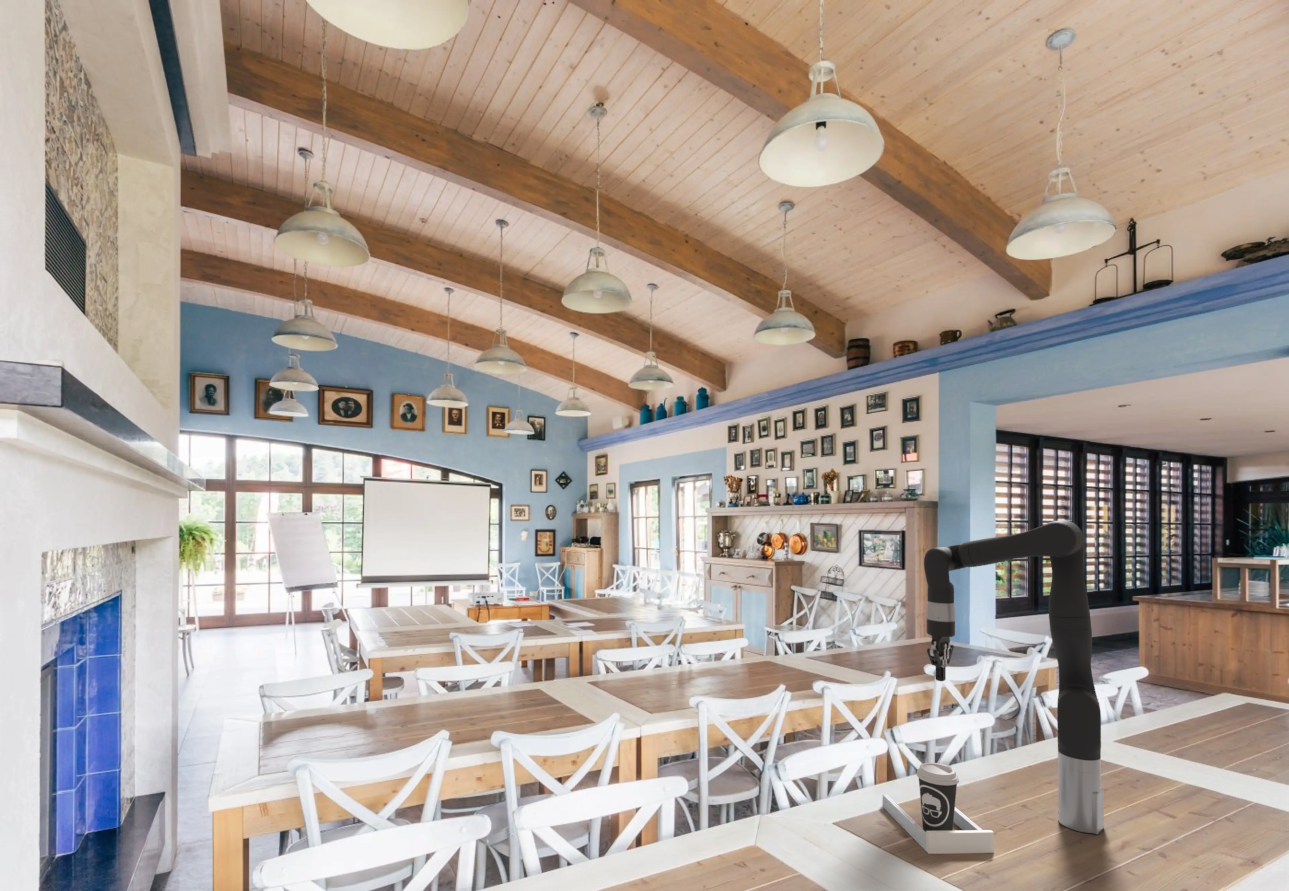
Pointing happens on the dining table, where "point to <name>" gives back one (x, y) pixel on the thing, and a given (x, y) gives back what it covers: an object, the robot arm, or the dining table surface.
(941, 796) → the coffee cup
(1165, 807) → the dining table surface
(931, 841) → the white rectangular tray frame
